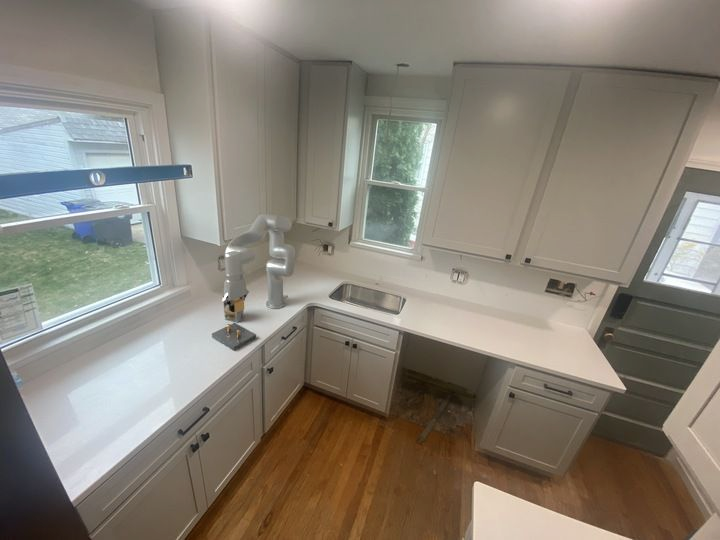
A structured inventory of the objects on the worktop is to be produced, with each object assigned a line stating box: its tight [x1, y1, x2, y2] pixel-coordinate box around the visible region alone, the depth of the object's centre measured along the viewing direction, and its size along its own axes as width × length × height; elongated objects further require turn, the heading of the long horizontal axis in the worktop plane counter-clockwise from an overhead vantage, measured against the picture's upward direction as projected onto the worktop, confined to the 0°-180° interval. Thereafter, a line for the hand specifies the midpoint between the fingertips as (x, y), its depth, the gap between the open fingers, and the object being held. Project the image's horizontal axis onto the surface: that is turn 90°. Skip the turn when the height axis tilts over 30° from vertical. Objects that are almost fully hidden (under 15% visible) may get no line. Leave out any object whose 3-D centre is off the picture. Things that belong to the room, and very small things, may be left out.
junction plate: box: [211, 322, 257, 351], centre depth 156 cm, size 14×18×6 cm
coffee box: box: [222, 295, 245, 324], centre depth 171 cm, size 9×6×16 cm
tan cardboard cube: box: [233, 298, 245, 313], centre depth 147 cm, size 5×5×6 cm
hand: (236, 308), depth 148 cm, fingers closed on tan cardboard cube, 4 cm apart
